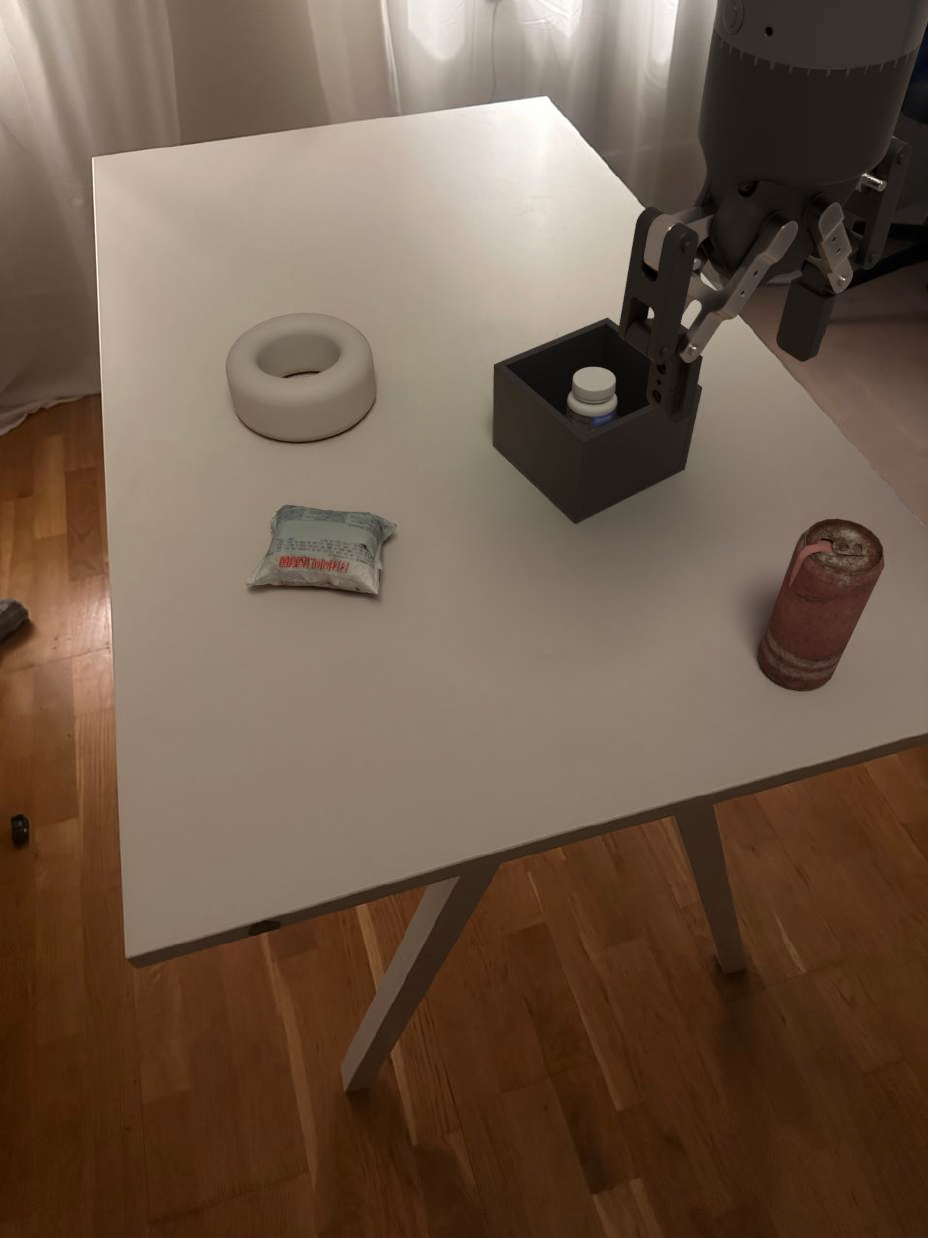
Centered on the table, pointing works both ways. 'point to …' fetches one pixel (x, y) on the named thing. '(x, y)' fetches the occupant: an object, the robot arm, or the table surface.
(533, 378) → the trash bin
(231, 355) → the donut shape
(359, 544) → the packaged food
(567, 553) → the table surface
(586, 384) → the pill bottle
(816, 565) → the can
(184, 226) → the table surface
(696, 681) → the table surface
